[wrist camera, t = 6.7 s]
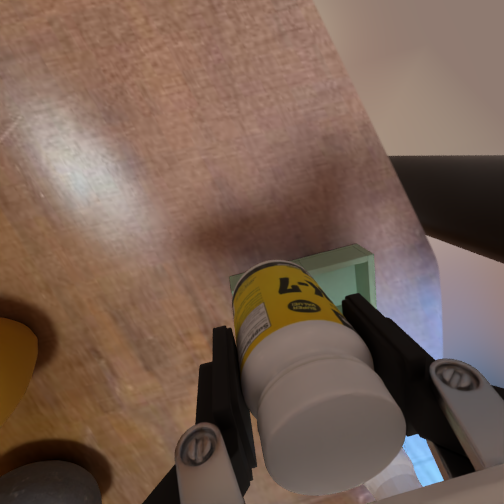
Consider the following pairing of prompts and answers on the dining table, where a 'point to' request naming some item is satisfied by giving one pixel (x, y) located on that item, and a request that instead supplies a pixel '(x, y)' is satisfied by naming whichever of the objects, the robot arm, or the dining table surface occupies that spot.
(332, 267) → the tray
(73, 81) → the dining table surface
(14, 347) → the apple
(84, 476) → the bowl
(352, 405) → the supplement bottle
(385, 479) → the bottle
